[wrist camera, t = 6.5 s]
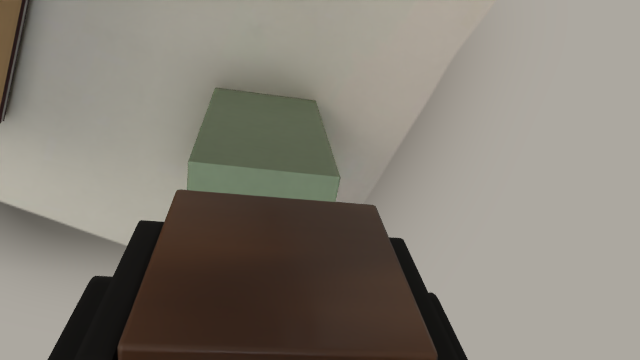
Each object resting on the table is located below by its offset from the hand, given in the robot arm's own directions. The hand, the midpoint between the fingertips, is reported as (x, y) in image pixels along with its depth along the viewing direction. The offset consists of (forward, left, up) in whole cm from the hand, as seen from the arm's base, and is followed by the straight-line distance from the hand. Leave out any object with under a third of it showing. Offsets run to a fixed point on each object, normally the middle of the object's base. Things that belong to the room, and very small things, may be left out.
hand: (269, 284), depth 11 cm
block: (0, 0, 0) cm, 0 cm away
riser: (0, +7, -27) cm, 28 cm away
